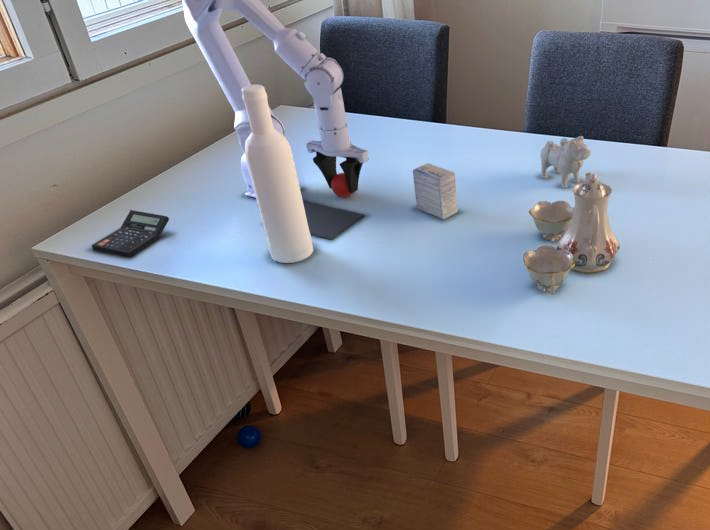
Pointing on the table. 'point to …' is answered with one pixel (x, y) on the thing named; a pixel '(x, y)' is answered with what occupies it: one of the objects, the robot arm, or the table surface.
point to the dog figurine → (564, 158)
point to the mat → (328, 220)
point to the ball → (340, 185)
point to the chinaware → (573, 236)
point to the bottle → (275, 182)
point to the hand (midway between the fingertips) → (343, 189)
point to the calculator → (133, 234)
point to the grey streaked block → (435, 190)
